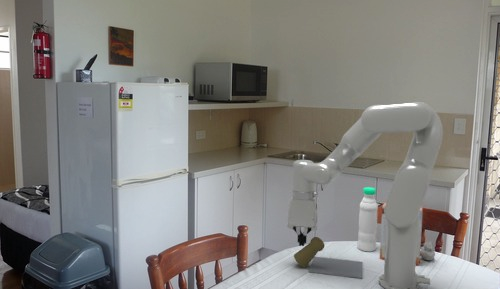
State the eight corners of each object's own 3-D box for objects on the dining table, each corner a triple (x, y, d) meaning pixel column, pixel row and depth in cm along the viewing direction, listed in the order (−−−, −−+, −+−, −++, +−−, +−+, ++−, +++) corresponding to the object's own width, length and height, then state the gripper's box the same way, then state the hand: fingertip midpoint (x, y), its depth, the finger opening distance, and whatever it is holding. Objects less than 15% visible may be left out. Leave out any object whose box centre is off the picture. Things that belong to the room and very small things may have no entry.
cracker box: (420, 260, 160) (423, 206, 158) (418, 266, 155) (422, 210, 152) (381, 253, 166) (384, 201, 164) (379, 258, 161) (382, 205, 158)
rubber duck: (424, 262, 158) (426, 242, 157) (415, 255, 164) (416, 236, 163) (438, 262, 159) (439, 241, 158) (428, 255, 165) (429, 235, 164)
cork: (305, 270, 151) (326, 250, 147) (292, 258, 151) (313, 238, 147) (307, 262, 156) (327, 242, 153) (295, 251, 157) (314, 231, 153)
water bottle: (357, 250, 169) (360, 189, 165) (357, 244, 175) (360, 185, 172) (375, 253, 167) (378, 190, 163) (375, 246, 173) (379, 186, 170)
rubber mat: (362, 262, 157) (362, 261, 157) (362, 278, 144) (362, 277, 144) (313, 257, 162) (313, 256, 162) (309, 272, 148) (309, 271, 148)
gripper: (325, 193, 152) (323, 243, 155) (284, 191, 156) (283, 239, 158) (323, 199, 145) (321, 250, 147) (280, 196, 149) (279, 246, 151)
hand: (301, 244), depth 153 cm, fingers closed
